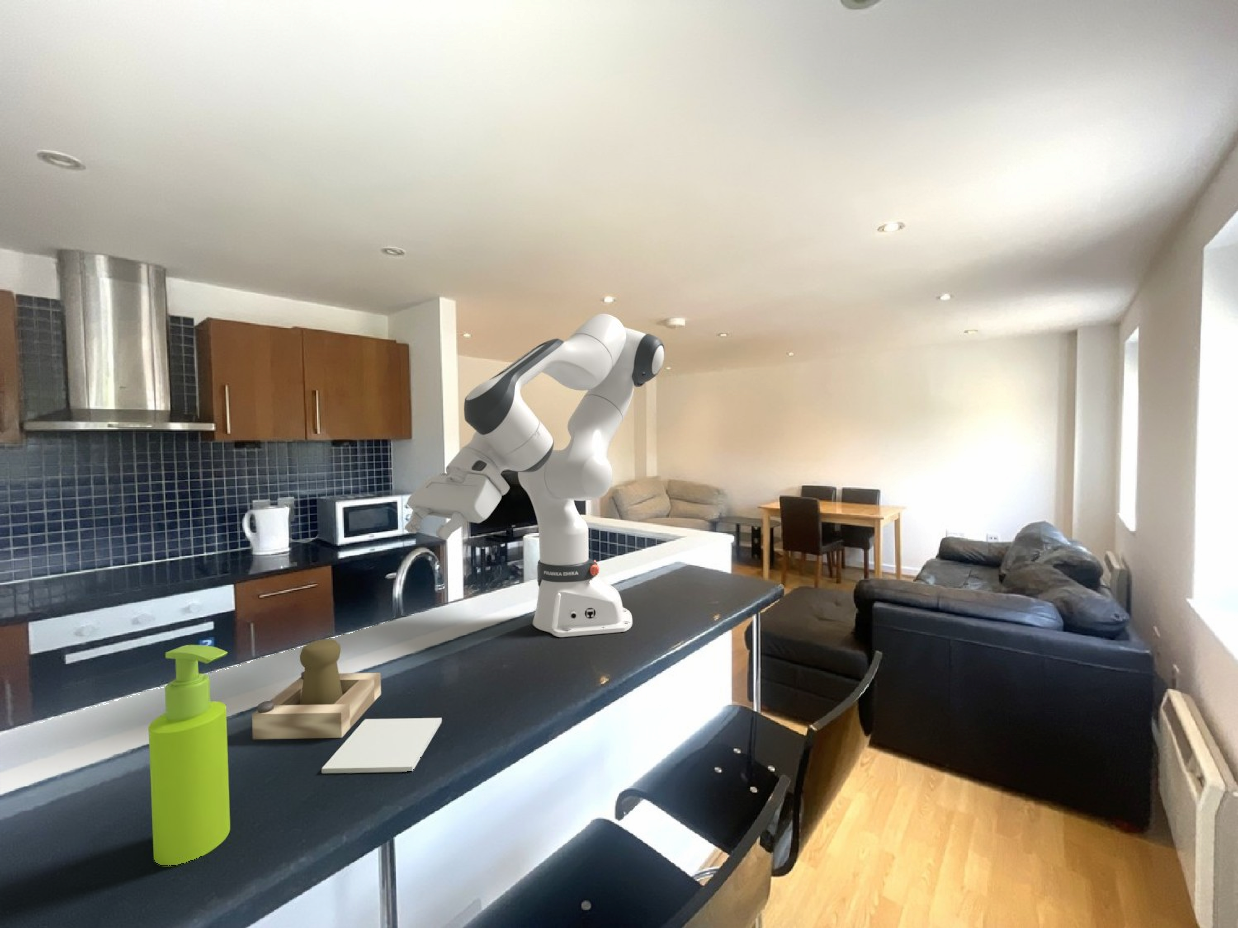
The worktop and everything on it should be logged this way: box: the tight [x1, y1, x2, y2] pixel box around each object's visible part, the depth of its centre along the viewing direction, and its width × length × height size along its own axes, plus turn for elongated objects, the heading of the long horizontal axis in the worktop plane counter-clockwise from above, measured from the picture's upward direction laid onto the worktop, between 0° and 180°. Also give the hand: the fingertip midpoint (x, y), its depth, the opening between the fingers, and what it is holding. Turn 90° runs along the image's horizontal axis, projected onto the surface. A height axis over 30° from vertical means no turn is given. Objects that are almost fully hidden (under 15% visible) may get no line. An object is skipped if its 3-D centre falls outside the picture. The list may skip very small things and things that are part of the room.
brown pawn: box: [299, 638, 343, 705], centre depth 74 cm, size 6×6×11 cm
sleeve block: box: [251, 670, 382, 740], centre depth 74 cm, size 12×12×4 cm
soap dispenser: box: [148, 644, 231, 867], centre depth 50 cm, size 6×7×20 cm
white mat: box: [321, 717, 443, 774], centre depth 67 cm, size 11×11×1 cm
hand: (424, 534), depth 86 cm, fingers open, 8 cm apart
